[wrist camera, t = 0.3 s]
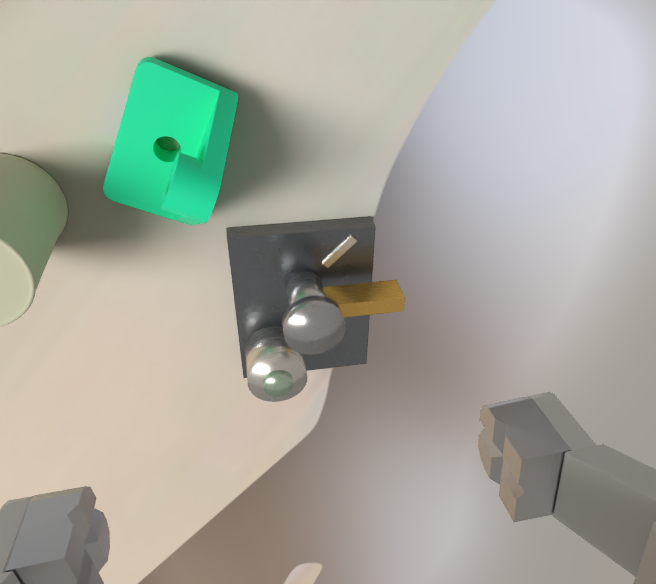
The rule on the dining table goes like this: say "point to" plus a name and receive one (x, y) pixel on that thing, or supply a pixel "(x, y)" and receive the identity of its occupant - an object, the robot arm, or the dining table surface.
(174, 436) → the dining table surface
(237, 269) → the base
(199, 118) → the camera mount
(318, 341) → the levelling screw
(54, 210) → the can
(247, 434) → the dining table surface
